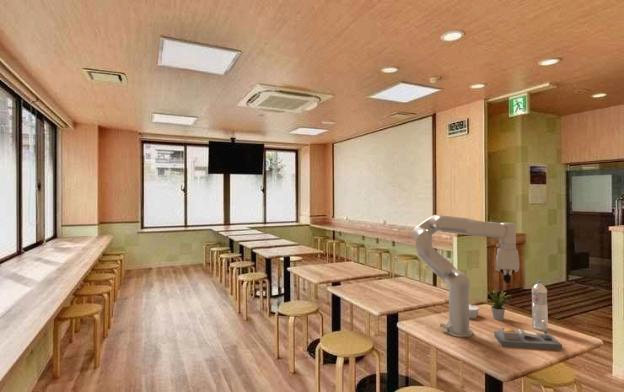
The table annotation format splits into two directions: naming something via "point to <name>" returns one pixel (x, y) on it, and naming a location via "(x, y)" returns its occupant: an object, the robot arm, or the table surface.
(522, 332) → the rocker switch
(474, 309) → the ramekin
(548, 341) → the control panel
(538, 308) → the water bottle
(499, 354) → the table surface
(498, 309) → the house plant
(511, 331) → the push button
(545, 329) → the toggle lever
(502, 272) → the robot arm
